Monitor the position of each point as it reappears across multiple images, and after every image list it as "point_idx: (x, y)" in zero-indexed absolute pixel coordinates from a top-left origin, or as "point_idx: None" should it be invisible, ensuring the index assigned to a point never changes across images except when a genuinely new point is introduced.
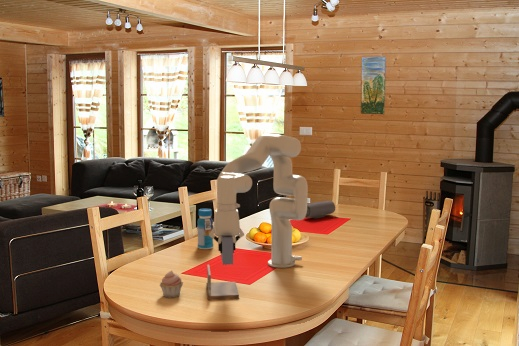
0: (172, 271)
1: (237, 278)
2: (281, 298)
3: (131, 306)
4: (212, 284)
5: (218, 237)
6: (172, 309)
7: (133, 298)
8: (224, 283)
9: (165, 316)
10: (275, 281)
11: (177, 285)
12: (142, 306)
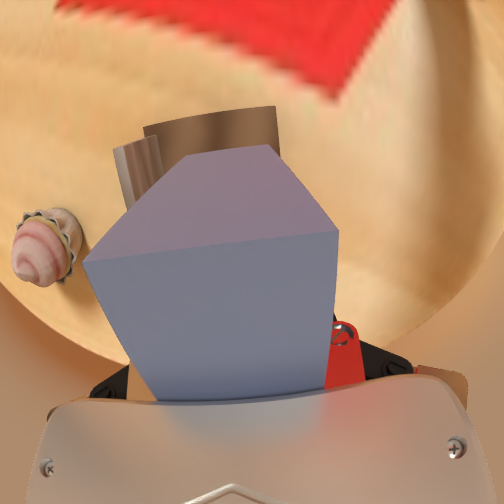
0: (21, 273)
1: (280, 22)
2: (410, 252)
3: (28, 302)
4: (171, 146)
5: (137, 394)
6: (109, 325)
7: (5, 256)
8: (225, 129)
9: (114, 355)
10: (425, 86)
11: (66, 271)
12: (44, 304)
